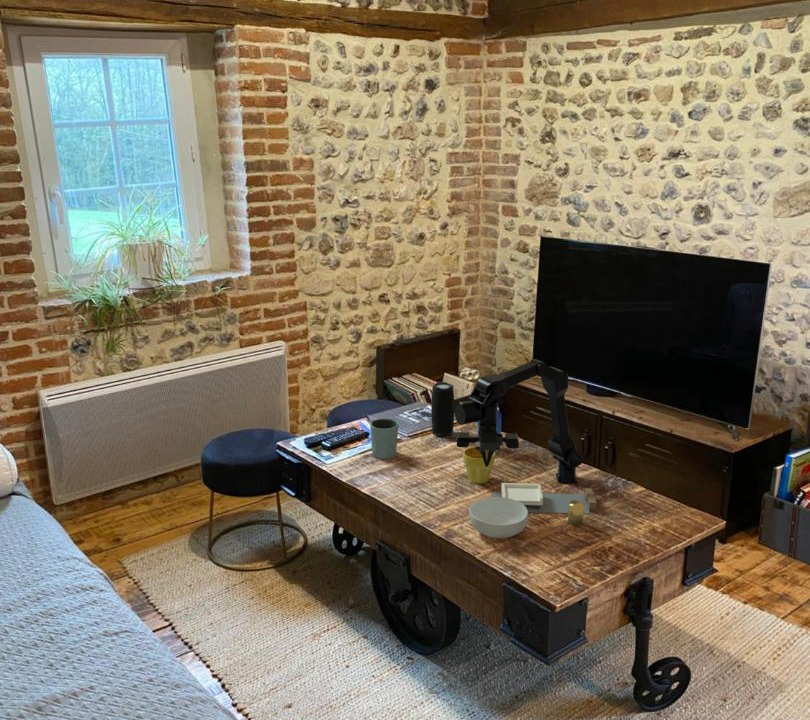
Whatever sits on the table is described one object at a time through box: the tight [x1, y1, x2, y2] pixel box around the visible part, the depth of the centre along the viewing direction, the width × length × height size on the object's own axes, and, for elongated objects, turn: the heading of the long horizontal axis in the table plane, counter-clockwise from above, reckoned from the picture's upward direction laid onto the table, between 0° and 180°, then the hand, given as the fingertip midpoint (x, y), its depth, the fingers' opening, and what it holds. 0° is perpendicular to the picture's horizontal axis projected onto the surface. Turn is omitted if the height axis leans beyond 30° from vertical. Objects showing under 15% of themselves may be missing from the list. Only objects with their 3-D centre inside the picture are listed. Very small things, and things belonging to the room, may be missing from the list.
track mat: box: [491, 491, 591, 515], centre depth 249 cm, size 13×29×1 cm, turn 86°
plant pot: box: [462, 446, 496, 485], centre depth 264 cm, size 10×10×10 cm
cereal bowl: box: [468, 496, 529, 539], centre depth 230 cm, size 17×17×7 cm
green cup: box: [369, 417, 399, 460], centre depth 284 cm, size 10×10×12 cm
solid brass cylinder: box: [567, 501, 585, 527], centre depth 236 cm, size 4×4×6 cm
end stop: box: [584, 487, 597, 513], centre depth 247 cm, size 10×2×3 cm, turn 176°
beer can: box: [476, 407, 502, 454], centre depth 287 cm, size 8×8×16 cm
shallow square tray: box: [500, 482, 543, 509], centre depth 248 cm, size 10×12×4 cm
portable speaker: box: [430, 381, 455, 438], centre depth 302 cm, size 9×9×20 cm
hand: (486, 466), depth 246 cm, fingers closed
